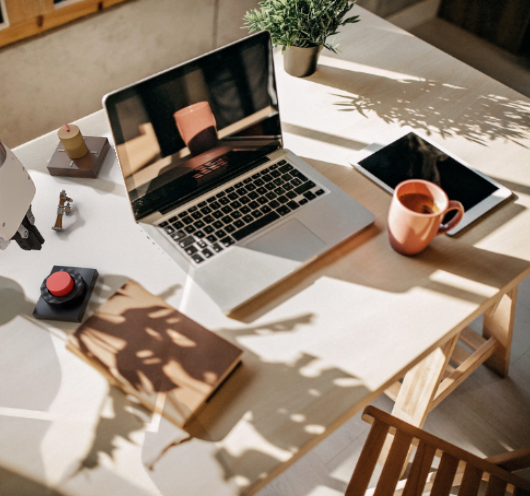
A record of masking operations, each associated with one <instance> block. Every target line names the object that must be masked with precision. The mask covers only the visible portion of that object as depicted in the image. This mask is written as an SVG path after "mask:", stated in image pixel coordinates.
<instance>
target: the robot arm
mask: <svg viewBox="0 0 530 496" xmlns="http://www.w3.org/2000/svg"><path fill="white" fill-rule="evenodd" d="M36 191H37V188H36V184H35V183H34V180H33V179H32V177H31V175H30V173H29V172H28V170H27V169H26V168H25V166H24V164H23V163H22V162H21V160H20V159H19V158H18V156H17V155H16V154H15V153H14V152H13V151H12V149H10V147H8V145H7V144H5V143H4V142H2V141H1V139H0V251H5V250H6V249H7V247H8V246H9V245H10V244H11V241H15V242H16V244H17V245H18V246H19V248H20V249H21V250H23V251H29V252H30V251H41V250H42V248H43V245H44V244H45V242H46V239H45V238H44V237H43V235H42V234H41V231H40V230H39V229H38V227H37V226H36V225H35V224H36V218H35V215H34V213H33V210H32V202H33V200H34V198H35V195H36Z"/></svg>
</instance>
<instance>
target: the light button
mask: <svg viewBox="0 0 530 496" xmlns="http://www.w3.org/2000/svg"><path fill="white" fill-rule="evenodd" d="M46 285H47V288H48V289H49V291H50V292H51V293H52V294H53V295H54V296H58V297H60V296H64V295H67V294H68V293H70V292H71V290H72V289H73V287H74V281H73V280H72V278H71V276H70V275H69V274H68V273H67V272H64V271H59V272H56V273H54V274H52V275H51V276H50V277H49V278H48V280H47V283H46Z"/></svg>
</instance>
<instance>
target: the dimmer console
mask: <svg viewBox="0 0 530 496" xmlns="http://www.w3.org/2000/svg"><path fill="white" fill-rule="evenodd" d="M82 136H83V138H84V141H85V143H86V145H87V148H88V151H87V153H86V154H85V155H84V156H83V157H81V158H77V159H73V158H70V157H68V156H67V154H66V151H65V149H64V147H63V145H62V143H61V141H60V140H59V142H58V144H57V146H56V148H55V150H54V152H53V153H52V156H51V158H50V159H49V161H48V163H47V165H46V169H47V170H48V174H49V175H50V176H53V177H54V176H55V177H67V178H68V177H71V178H83V179H85V178H86V179H98V175H99V173H100V172H101V168H102V167H103V164H104V162H105V159H106V157H107V155H108V153H109V150H110V148H111V144H110V141H109V138H108V137H107V136H91V135H82Z"/></svg>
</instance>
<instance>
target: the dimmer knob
mask: <svg viewBox="0 0 530 496" xmlns="http://www.w3.org/2000/svg"><path fill="white" fill-rule="evenodd" d="M56 135H57V137H58V139H59V142H60V141H61V143H62V145H63V147H64V149H65V151H66V154H67V156H68V157H70V158H73V159H77V158H81V157H83V156H84V155H85V154H86V153H87V151H88V148H87V145H86V143H85V141H84V138H83V136H84V135H83V134H82V132H81V129H80V127H79V126H78V125H76V124H72V123H70V124H68V123H64V124H63V126H61V127H60V128H59V129H58V130H57V133H56Z"/></svg>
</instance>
